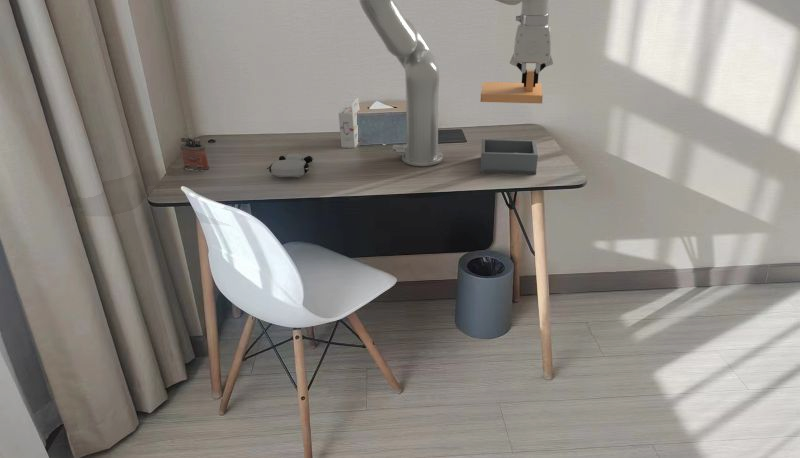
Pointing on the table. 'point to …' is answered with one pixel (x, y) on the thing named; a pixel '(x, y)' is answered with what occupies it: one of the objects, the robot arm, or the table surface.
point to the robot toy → (290, 166)
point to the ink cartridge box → (349, 125)
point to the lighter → (194, 154)
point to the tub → (508, 156)
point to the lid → (513, 91)
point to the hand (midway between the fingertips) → (529, 85)
